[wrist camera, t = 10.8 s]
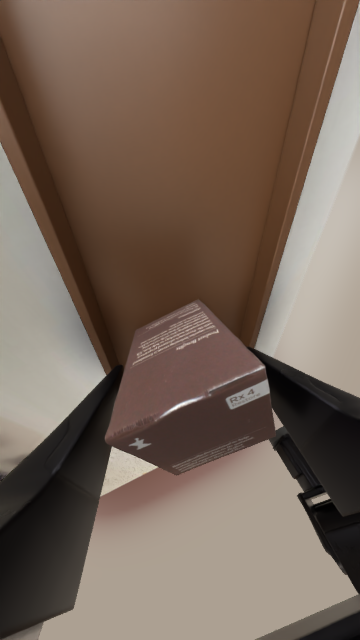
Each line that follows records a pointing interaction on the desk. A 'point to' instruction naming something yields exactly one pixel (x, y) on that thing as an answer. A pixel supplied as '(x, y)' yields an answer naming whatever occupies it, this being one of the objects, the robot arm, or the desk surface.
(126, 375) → the box
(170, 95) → the tray
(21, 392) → the desk surface
